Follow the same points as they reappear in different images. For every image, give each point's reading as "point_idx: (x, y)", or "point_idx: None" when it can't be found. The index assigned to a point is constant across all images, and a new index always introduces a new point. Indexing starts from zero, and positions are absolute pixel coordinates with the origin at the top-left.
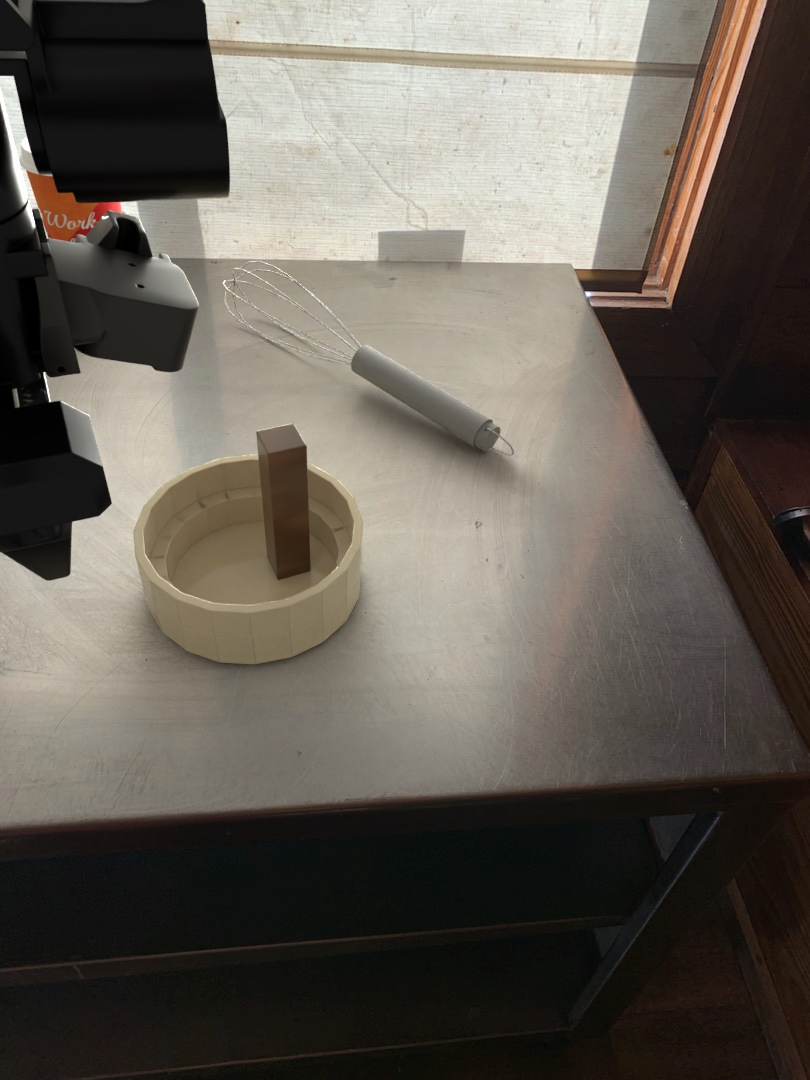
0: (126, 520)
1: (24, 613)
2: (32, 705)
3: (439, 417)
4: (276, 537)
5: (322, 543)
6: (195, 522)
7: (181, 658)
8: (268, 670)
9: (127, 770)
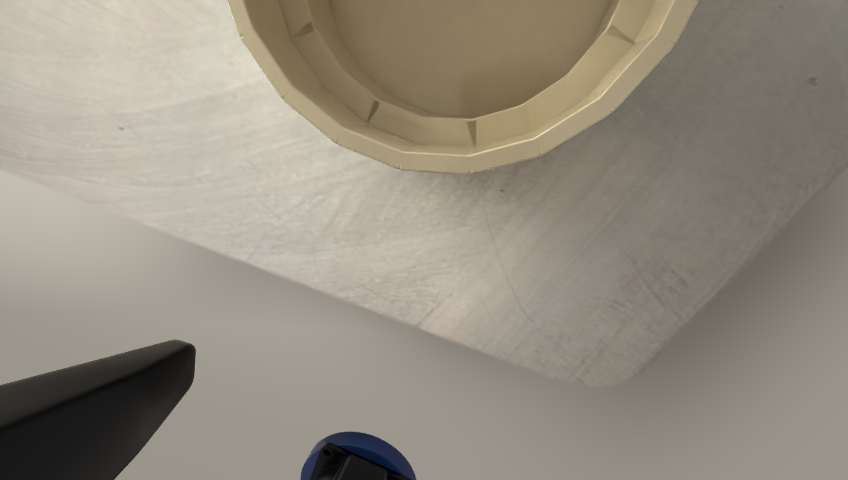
0: (234, 98)
1: (341, 281)
2: (482, 327)
3: None
4: None
5: None
6: (314, 6)
7: None
8: None
9: (645, 284)
